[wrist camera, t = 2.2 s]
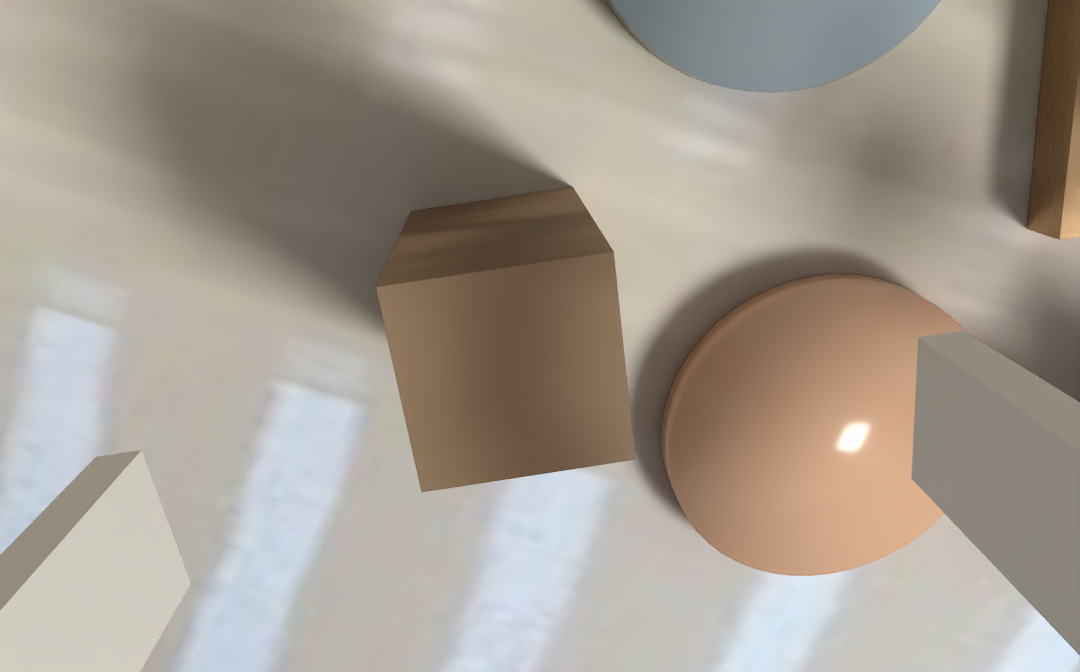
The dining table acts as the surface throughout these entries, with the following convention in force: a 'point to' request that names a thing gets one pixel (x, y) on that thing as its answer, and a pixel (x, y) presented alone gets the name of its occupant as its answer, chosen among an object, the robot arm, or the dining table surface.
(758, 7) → the blue gray round dish
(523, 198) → the block
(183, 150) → the dining table surface
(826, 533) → the peach glossy dome
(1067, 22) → the balance
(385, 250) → the dining table surface
